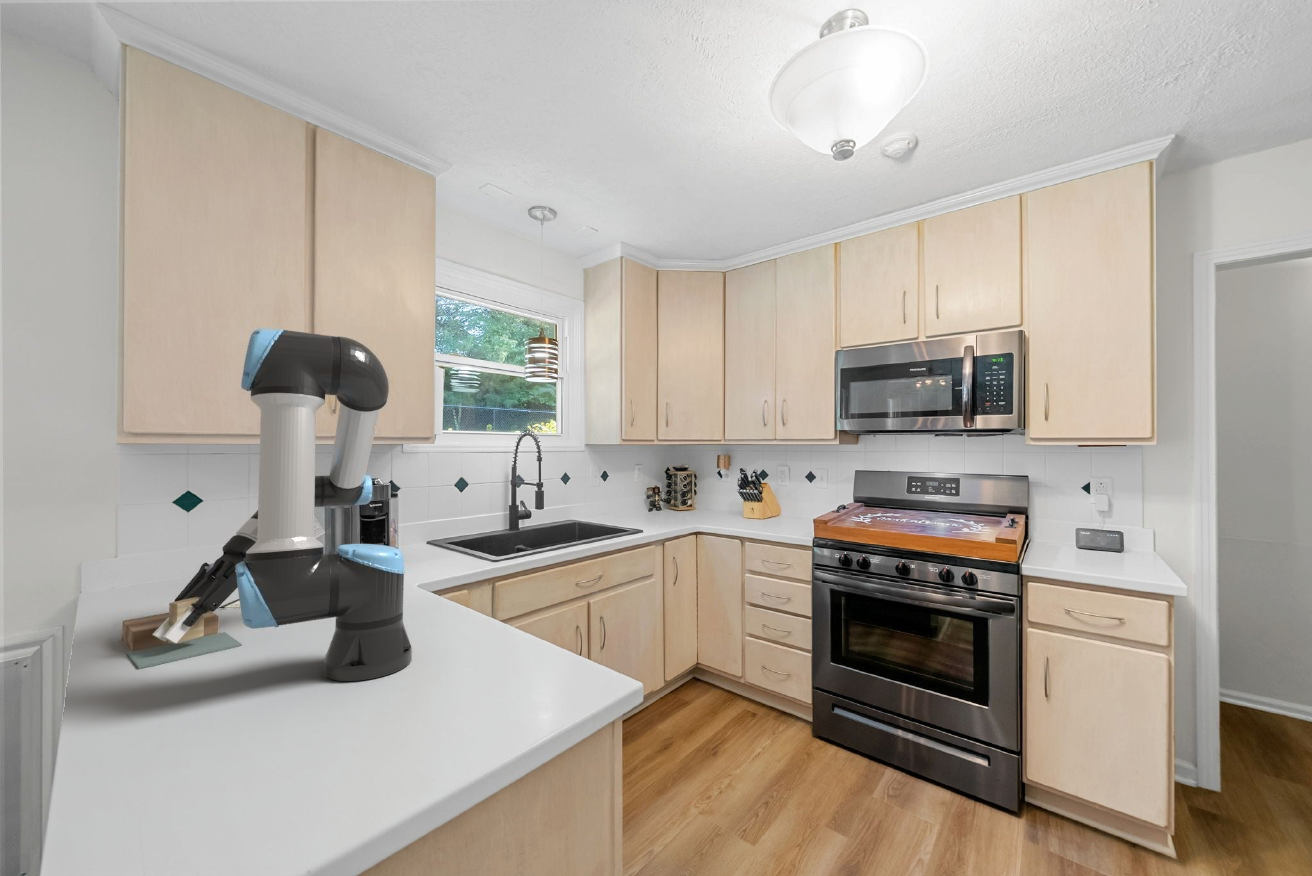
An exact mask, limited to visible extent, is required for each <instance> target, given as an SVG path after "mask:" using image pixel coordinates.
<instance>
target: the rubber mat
mask: <svg viewBox="0 0 1312 876" xmlns="http://www.w3.org/2000/svg"><path fill="white" fill-rule="evenodd" d="M242 646H243V643H241V642H240V641H238V640H237V639H235V638H234V637H233V636H231V635H230V634H229V633H227V632H225V631H223V632H222V631H221V632H218V634H213V635H208V636H203V637H198V638H194V639H191V640H188V641H184V642H181V643H177V644H175V643H169V644H165V645H160V646H155V647H150V648H145V649H141V650H136V651H132V650H131V651H127V652H126V655H127V656H128V658H129V659H130V660H131V662H132V663H133V664H134V665H135V667H136V668H137V667H138V668H137V669H138V670H141V669H145V667H146V668H150V667H154V665H155V666H158V665H159V666H160V665H164V664H167V663H172V662H177V661H180V660H184V659H185V660H186V659H188V658H189V659H190V658H193V657H199V656H202V655H206V654H212V653H215V652H219V651H224V650H229V649H233V648H237V647H242Z"/></svg>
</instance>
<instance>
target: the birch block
mask: <svg viewBox="0 0 1312 876" xmlns="http://www.w3.org/2000/svg"><path fill="white" fill-rule="evenodd" d="M200 598H201V597H194V598H189V599H185V600H181V601H176V602H174V601H173V602H169V604H168V613H169V629H170V628H171V627H172V626H173V625H174V624H175V623H176V622H177V620H178V619H179V618H180V617H181V616H182V615H183V614H184V613H185V612H186V611H187V609H188V608H189V607H192V608H194V607H193V606H191V604H192V603H197V602H198V601H199V599H200ZM194 609H195V608H194ZM201 636H204V614H202V615H201V617H200V618H199V619H198V620H197V621H196V622H195V623H194V625H192V626H191V627H190V628H189V629H188V631H187V632H186V633H185V634H184V635H183V636H182V637H181V638H180V640H179V641H178V642H177V643H181V642H184V641H188V640H191V639H194V638H198V637H201ZM168 642H169V643H173V642H171V641H169V640H168ZM177 643H175V644H177Z"/></svg>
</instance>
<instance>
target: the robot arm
mask: <svg viewBox="0 0 1312 876" xmlns="http://www.w3.org/2000/svg"><path fill="white" fill-rule="evenodd" d="M244 358H245V359H244V364H243V369H242V370H243V371H242V377H241V383H240V384H241V385H240V387H241V389H242V390H244V391H247V392H250V401H251V402H252V403H253V404H254V405H256V407H258V408H259V410H260V418H259V419H260V420H259V422H260V423H259V425H260V426H259V460H258V462H259V465H258V466H259V467H258V497H257V498H258V499H257V500H258V502H257V504H258V505H257V507H258V509H257V510H256V512H254V514H252V515H251V516H250V518H249V519H248V520H247V521H246V522H245V523H243V524H242V526H241V527H240V528H239V529H238V530H236V533H235V534H234V535H233V536H231V538H230V539H228V541H226V543H225V544H224V545H223V547H222V552H223V554H222V555H221V556H220V557H219V558H217V559H215V561H214V562H212V563H208V562H204V563H202V565H201V566H200V568H199V570H198V572H197V573H196V574H195V575H194V576H193V577H192V579H191V580H190V581H189V582H188V583H187V584H186V586H185V587H184V588H183V589H182V590H181V591H180V593H178V595H177V596H176V598H175V599H174V601H173V602H176V601H181V600H185V599H189V598H194V597H201V598H200V599H199V601H198V602H197V603H192V604H191V606H193V607H194V608H195V609H194V608H192V607H189V608H188V609H187V611H186V612H185V613H184V614H183V615H182V616H181V617H180V618H179V619H178V620H177V622H176V623H175V624H174V625H173V626H172V627H171V628H170V629H169V617H168V618H167V619H166V620H165V621H164V622H163V624H162V625H161V626H160V627H159V628H158V629H157V630H156V631H155V632H154V633H153V634H152V635H153V636H155V637H157V638H159V639H160V640H162V641H165V642H166V640H167V639H168V640H169V641H171V642H173V643H177V642H178V641H179V640H180V638H181V637H182V636H183V635H184V634H185V633H186V632H187V631H188V629H189V628H190V627H191V626H192V625H194V623H195V622H196V621H197V620H198V619H199V618H200V617H201V615H202V614H205V613H207V612H208V611H211V612H213V613H214V612H215V611H216V610H217V609H219V607H221V606H222V604H223V603H224V602H225V601H226V600H227V599H228V598H229V597H230V596H231V595H232V594H233V593H234V592H235V591H236V590H237V591H238V599H239V600H240V607H241V609H240V612H241V619H242V623H243V624H244V625H245V626H246V627H247V628H249V629H264V628H273V627H274V628H278V627H279V626H287V625H292V624H299V623H305V622H312V621H320V620H325V619H331V618H335V626H334V627H335V628H334V632H333V636H332V637H331V640H330V643H329V647H328V649H327V652H326V654H325V657H324V661H323V675H324V677H326V678H327V679H330V680H333V681H338V682H339V681H341V682H357V681H367V680H372V679H377V678H381V677H385V676H389V675H391V674H394V673H396V672H398V671H400V670H402V669H405V668H406V667H407V666H408V665H409V664H411V662H412V660H413V658H412V657H413V654H412V653H413V647H412V644H411V642H410V639H409V636H408V633H407V630H406V626H405V624H404V591H405V590H404V587H405V586H404V585H405V584H404V583H405V582H404V581H405V577H404V576H405V574H406V570H405V562H404V561H405V560H404V554H403V552H402V551H401V550H400V549H399V548H396V547H393V546H390V545H383V544H382V545H381V544H372V543H348V544H347V543H346V544H342V545H341V544H340V545H339V546H338V547H337V548H336V550H335V553H333V554H325V552H324V551H325V550H324V548H325V547H324V544H323V543H322V542H321V541H319V540H318V539H317V538H316V537H315V508H320V507H321V508H327V507H354V506H361V505H367V504H370V502H371V501H372V499H373V498H372V497H373V496H372V495H373V480H372V478H371V476H370V475H367V469H368V465H369V461H370V455H371V451H372V447H373V444H374V443H373V442H374V438H375V433H376V427H377V423H378V419H379V413H380V410H382V409H383V408H385V407H386V405H387V402H388V398H389V393H390V389H389V388H390V385H389V384H390V383H389V378H388V375H387V373H386V369H385V368H384V366H383V364H382V362H381V361H380V359H379V358H378V357H377V355H376V354H375V353H373V351H372V350H370V348H369V347H367V346H365V345H364V344H363V343H361V342H359V341H357V340H355V339H354V338H350V337H345V336H339V335H338V336H333V335H327V334H319V333H311V332H310V333H309V332H302V331H296V330H295V331H294V330H288V329H287V330H286V329H284V328H281V329H275V328H258V329H255V330H254V331H253V332H252V333H251V335H250V336H249V339H248V345H247V349H246V353H245V357H244ZM326 396H335V398H336V400H337V401H338V403H339V410H338V415H337V421H336V422H337V424H336V427H335V428H336V429H335V435H334V442H333V449H332V454H331V455H332V456H331V462H330V467H329V468H330V469H329V475H316V420H317V419H316V417H317V415H316V413H317V411H318V410H319V409H320V408H322V406H323V405H325V404H326Z"/></svg>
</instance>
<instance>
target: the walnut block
mask: <svg viewBox="0 0 1312 876" xmlns="http://www.w3.org/2000/svg"><path fill="white" fill-rule="evenodd" d="M168 617H169V612H165V613H160V614H153V615H148V616H143V617H142V616H141V617H136V618H132V619H131V618H129V619H126V620H122V631H121V634H122V635H121V636H122V637H121V639H122V641H123V642H124V643H125V644H126V645H127V648H129V650H131V651H136V650H141V649H145V648H150V647H155V646H160V645H165V644H169V642H168V639H167V640H166V642H165V641H162V640H160V639H159V638H157V637H155V636H153V635H152V634H153V633H154V632H155V631H156V630H157V629H158V628H159V627H160V626H161V625H162V624H163V622H164V621H165V620H166V619H167V618H168ZM218 633H219V615H217V614H215V612H214V611H213V612H212V611H208V612H207V613H205V614H204V636H208V635H213V634H218ZM201 637H203V636H201Z"/></svg>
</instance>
